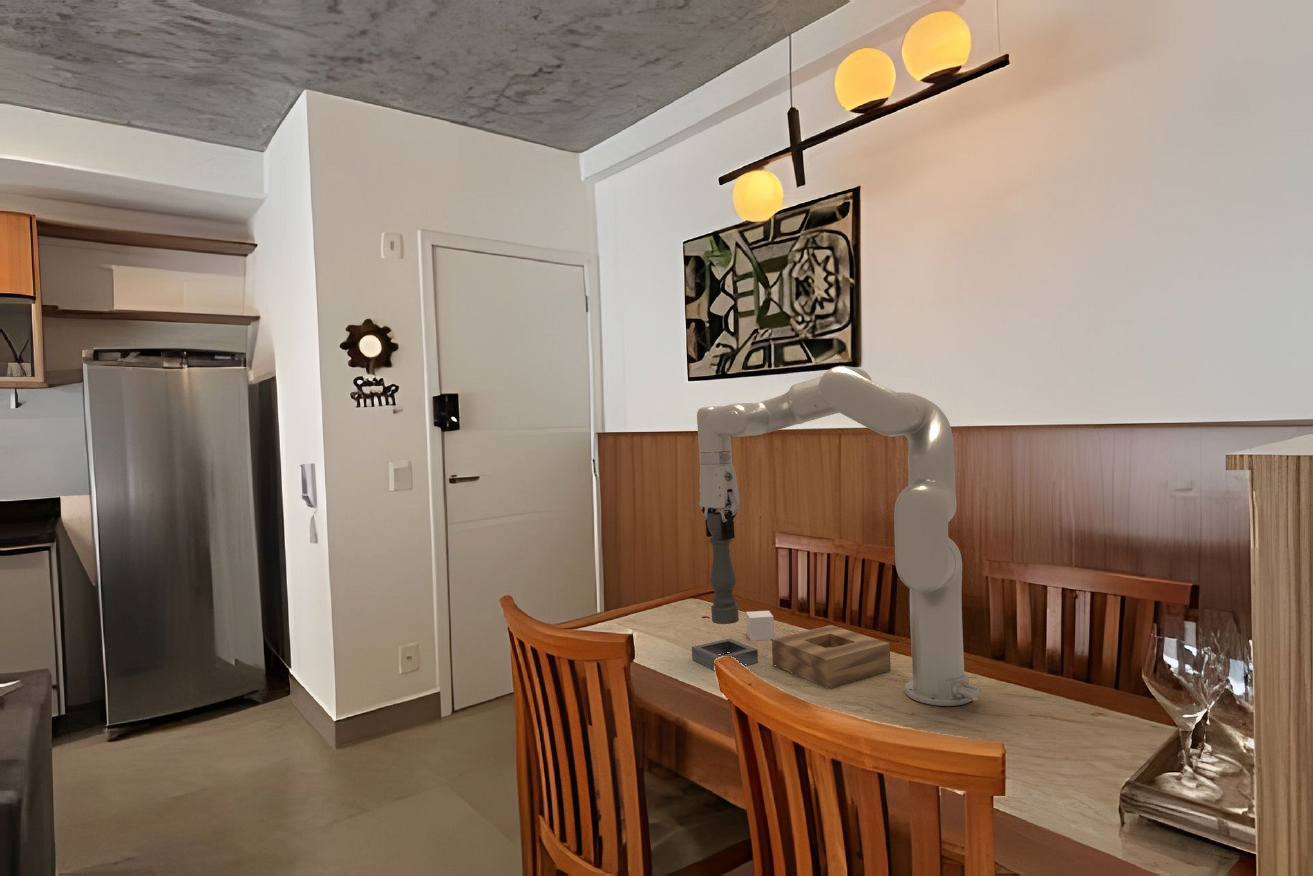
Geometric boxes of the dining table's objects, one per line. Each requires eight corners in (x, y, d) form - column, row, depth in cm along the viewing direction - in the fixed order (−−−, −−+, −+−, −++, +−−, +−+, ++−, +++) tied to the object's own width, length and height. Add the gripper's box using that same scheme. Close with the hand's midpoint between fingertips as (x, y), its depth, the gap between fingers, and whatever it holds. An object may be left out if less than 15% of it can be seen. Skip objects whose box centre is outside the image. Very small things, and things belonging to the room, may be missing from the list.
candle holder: (738, 616, 169) (732, 511, 168) (738, 623, 162) (732, 514, 162) (712, 617, 169) (706, 512, 169) (711, 624, 163) (705, 515, 163)
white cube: (746, 634, 187) (745, 611, 187) (769, 633, 187) (768, 610, 187) (751, 641, 181) (749, 617, 181) (774, 640, 181) (773, 616, 181)
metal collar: (758, 662, 164) (757, 649, 164) (718, 672, 159) (717, 659, 159) (730, 650, 174) (730, 638, 174) (692, 659, 168) (691, 647, 168)
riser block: (890, 670, 155) (889, 643, 155) (828, 688, 146) (826, 659, 146) (832, 650, 171) (831, 625, 171) (772, 665, 162) (771, 639, 162)
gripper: (751, 458, 160) (755, 539, 160) (708, 458, 175) (713, 532, 175) (723, 461, 156) (728, 543, 156) (682, 460, 171) (687, 535, 171)
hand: (720, 536), depth 166 cm, fingers closed on candle holder, 5 cm apart
